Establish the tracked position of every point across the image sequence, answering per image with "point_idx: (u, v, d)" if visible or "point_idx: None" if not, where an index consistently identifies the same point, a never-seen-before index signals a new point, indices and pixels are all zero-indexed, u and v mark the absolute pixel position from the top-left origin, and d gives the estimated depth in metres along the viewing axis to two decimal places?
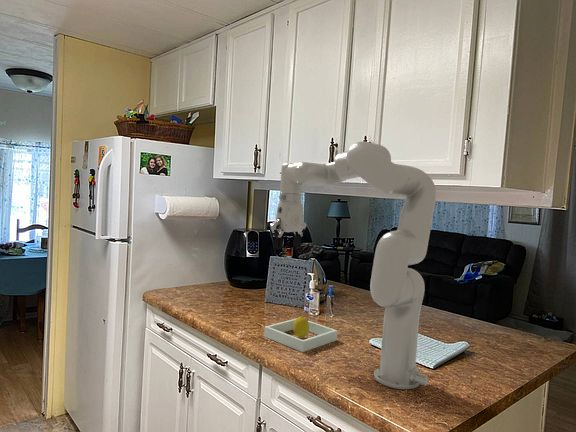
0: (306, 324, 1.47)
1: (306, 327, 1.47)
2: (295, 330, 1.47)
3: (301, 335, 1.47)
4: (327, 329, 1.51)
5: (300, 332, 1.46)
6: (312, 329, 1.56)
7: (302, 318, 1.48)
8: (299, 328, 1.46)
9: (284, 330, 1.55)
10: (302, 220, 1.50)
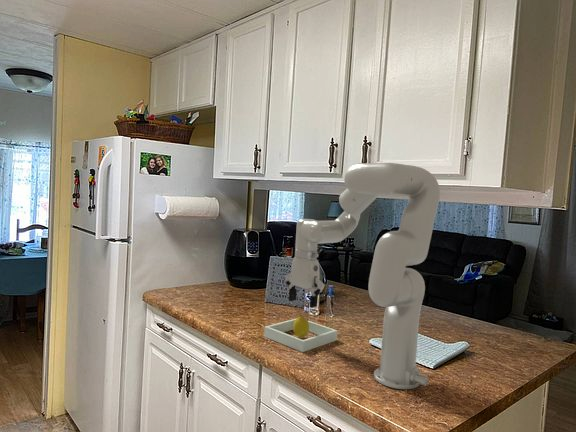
0: (306, 324, 1.47)
1: (306, 327, 1.47)
2: (295, 330, 1.47)
3: (301, 335, 1.47)
4: (327, 329, 1.51)
5: (300, 332, 1.46)
6: (312, 329, 1.56)
7: (302, 318, 1.48)
8: (299, 328, 1.46)
9: (284, 330, 1.55)
10: None
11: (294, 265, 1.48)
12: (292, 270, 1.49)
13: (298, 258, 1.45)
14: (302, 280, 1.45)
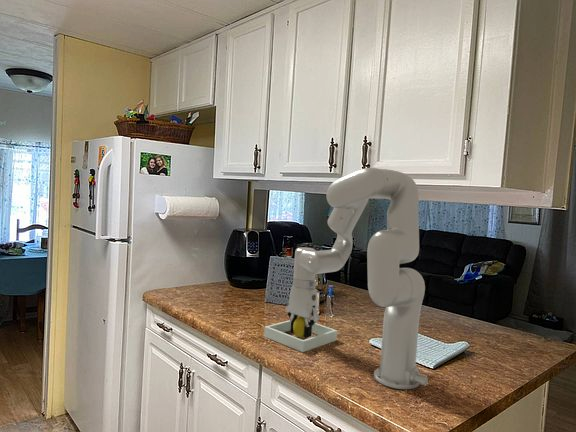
0: None
1: None
2: (295, 330, 1.47)
3: (301, 335, 1.47)
4: (327, 329, 1.51)
5: (300, 332, 1.46)
6: (312, 329, 1.56)
7: (302, 318, 1.48)
8: (299, 328, 1.46)
9: (284, 330, 1.55)
10: None
11: (292, 293, 1.48)
12: (290, 298, 1.49)
13: (296, 287, 1.45)
14: (300, 309, 1.46)
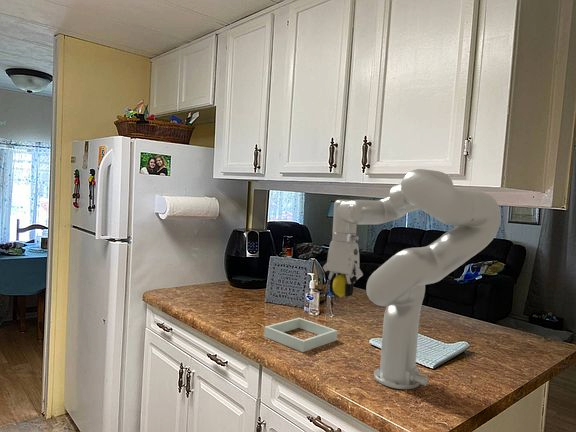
0: None
1: None
2: (335, 288, 1.36)
3: (342, 293, 1.36)
4: (327, 329, 1.51)
5: (341, 290, 1.35)
6: (312, 329, 1.56)
7: (342, 275, 1.37)
8: (340, 285, 1.35)
9: (284, 330, 1.55)
10: None
11: (331, 249, 1.38)
12: (329, 255, 1.39)
13: (337, 241, 1.35)
14: (341, 265, 1.35)
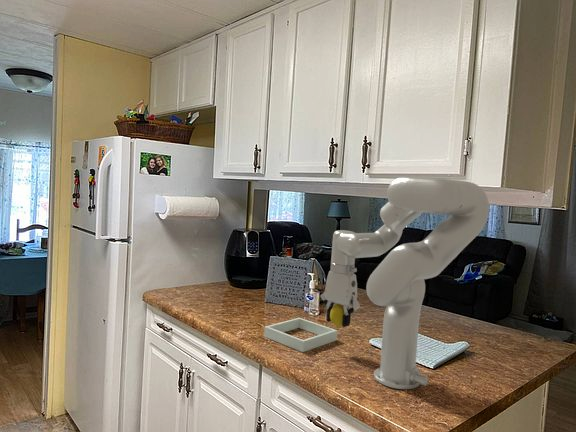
0: None
1: None
2: (333, 318, 1.37)
3: (339, 324, 1.37)
4: (327, 329, 1.51)
5: (338, 320, 1.36)
6: (312, 329, 1.56)
7: (340, 306, 1.38)
8: (337, 316, 1.36)
9: (284, 330, 1.55)
10: None
11: (329, 279, 1.38)
12: (327, 285, 1.39)
13: (335, 273, 1.35)
14: (339, 296, 1.36)
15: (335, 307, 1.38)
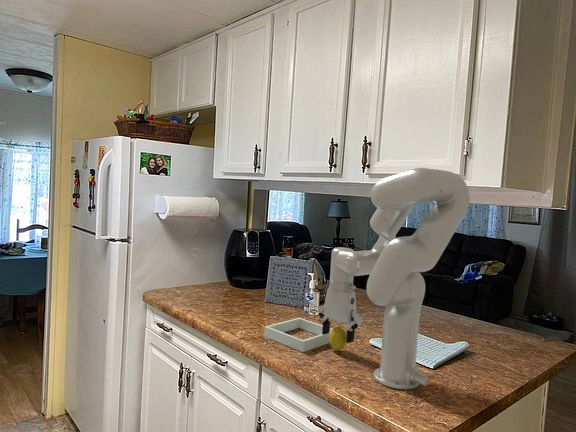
0: (344, 336, 1.37)
1: (344, 339, 1.37)
2: (332, 342, 1.37)
3: (338, 347, 1.37)
4: None
5: (337, 344, 1.37)
6: (312, 329, 1.56)
7: (339, 329, 1.38)
8: (337, 340, 1.36)
9: (284, 330, 1.55)
10: None
11: (328, 296, 1.39)
12: (326, 302, 1.39)
13: (334, 290, 1.35)
14: (338, 313, 1.36)
15: (334, 331, 1.38)
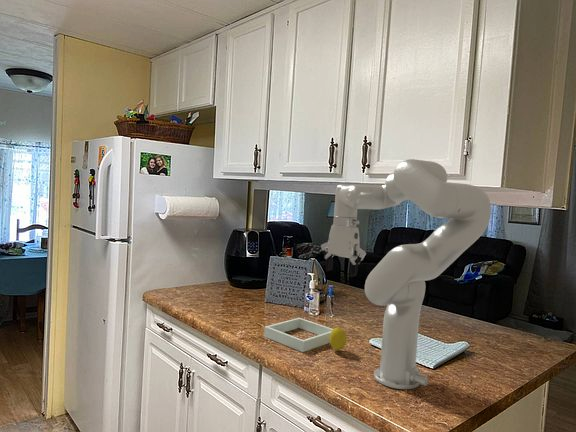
0: (344, 336, 1.37)
1: (344, 339, 1.37)
2: (332, 342, 1.37)
3: (338, 347, 1.37)
4: (327, 329, 1.51)
5: (337, 344, 1.37)
6: (312, 329, 1.56)
7: (339, 329, 1.38)
8: (337, 340, 1.36)
9: (284, 330, 1.55)
10: None
11: (332, 233, 1.41)
12: (330, 238, 1.42)
13: (338, 225, 1.38)
14: (341, 248, 1.39)
15: (334, 331, 1.38)
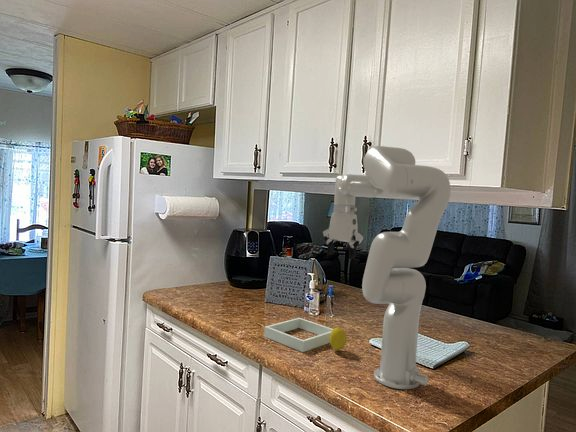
0: (344, 336, 1.37)
1: (344, 339, 1.37)
2: (332, 342, 1.37)
3: (338, 347, 1.37)
4: (327, 329, 1.51)
5: (337, 344, 1.37)
6: (312, 329, 1.56)
7: (339, 329, 1.38)
8: (337, 340, 1.36)
9: (284, 330, 1.55)
10: None
11: (333, 219, 1.55)
12: (331, 225, 1.56)
13: (337, 212, 1.52)
14: (341, 233, 1.52)
15: (334, 331, 1.38)
